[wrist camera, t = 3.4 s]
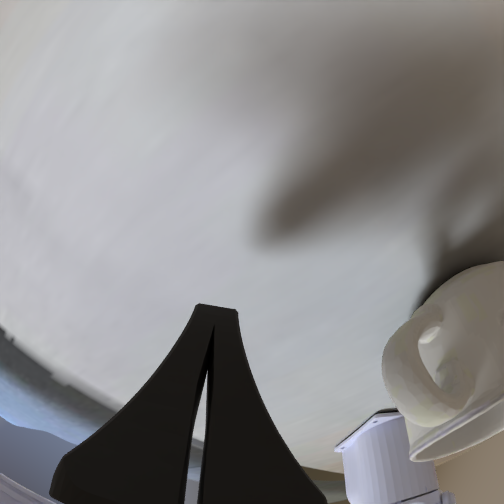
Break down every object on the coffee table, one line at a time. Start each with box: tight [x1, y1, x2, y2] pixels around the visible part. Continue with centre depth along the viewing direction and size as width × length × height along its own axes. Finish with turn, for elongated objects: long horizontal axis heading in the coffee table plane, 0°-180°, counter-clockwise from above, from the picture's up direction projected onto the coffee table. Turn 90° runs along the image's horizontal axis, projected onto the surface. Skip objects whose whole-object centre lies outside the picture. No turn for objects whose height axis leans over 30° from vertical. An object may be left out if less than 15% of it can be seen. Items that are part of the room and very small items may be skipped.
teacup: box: [382, 261, 504, 462], centre depth 11 cm, size 14×11×8 cm
